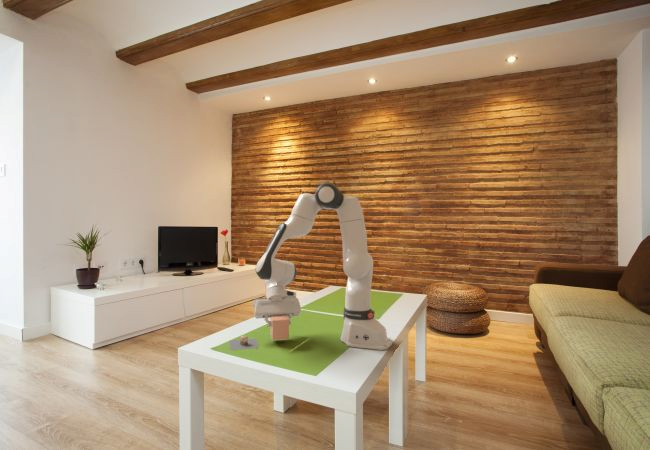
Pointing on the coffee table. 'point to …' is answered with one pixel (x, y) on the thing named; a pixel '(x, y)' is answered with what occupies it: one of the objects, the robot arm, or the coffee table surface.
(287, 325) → the peach foam cube
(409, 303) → the coffee table surface
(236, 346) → the mat
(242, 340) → the tan rounded cylinder
